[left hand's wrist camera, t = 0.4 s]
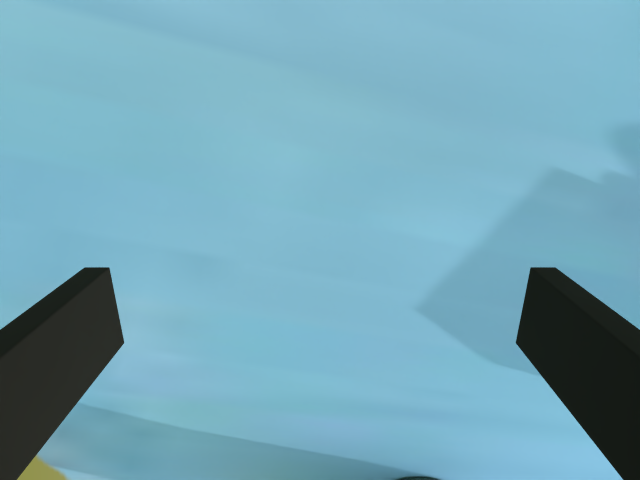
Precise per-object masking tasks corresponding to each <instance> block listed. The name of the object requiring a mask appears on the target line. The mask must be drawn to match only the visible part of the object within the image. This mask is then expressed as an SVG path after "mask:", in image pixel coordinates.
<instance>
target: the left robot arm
mask: <svg viewBox="0 0 640 480" xmlns="http://www.w3.org/2000/svg"><path fill="white" fill-rule="evenodd" d="M123 344H124V340H123V335H122V329H121V324H120V319H119V314H118V309H117V304H116V299H115V294H114V289H113V284H112V279H111V274H110V269H109V268H83V269H82V270H81V271H79V272H78V273H77V274H75V275H74V276H73V277H71V278H70V279H69V280H67V281H66V282H64V283H63V284H62V285H60V286H59V287H58V288H56V289H55V290H54V291H52V292H51V293H50V294H48V295H47V296H45V297H44V298H43V299H41V300H40V301H39V302H37V303H36V304H35V305H33V306H32V307H31V308H29V309H28V310H27V311H25V312H24V313H22V314H21V315H20V316H18V317H17V318H16V319H14V320H13V321H12V322H10V323H9V324H8V325H6V326H5V327H4V328H2V329H1V330H0V480H17V479H18V477H19V476H20V475H21V473H22V472H23V471H24V470H25V468H26V467H27V466H28V465H29V463H30V462H31V461H32V459H33V458H34V457H35V456H36V454H37V453H38V452H39V451H40V449H41V448H42V447H43V445H44V444H45V443H46V442H47V440H48V439H49V438H50V437H51V435H52V434H53V433H54V431H55V430H56V429H57V428H58V426H59V425H60V424H61V423H62V421H63V420H64V419H65V417H66V416H67V415H68V414H69V412H70V411H71V410H72V409H73V407H74V406H75V405H76V404H77V402H78V401H79V400H80V398H81V397H82V396H83V395H84V393H85V392H86V391H87V390H88V388H89V387H90V386H91V384H92V383H93V382H94V381H95V379H96V378H97V377H98V376H99V374H100V373H101V372H102V370H103V369H104V368H105V367H106V365H107V364H108V363H109V362H110V360H111V359H112V358H113V356H114V355H115V354H116V353H117V351H118V350H119V349H120V348H121V346H122V345H123ZM516 344H517V345H518V346H519V348H520V349H521V350H522V351H523V353H524V354H525V355H526V356H527V358H528V359H529V360H530V362H531V363H532V364H533V365H534V367H535V368H536V369H537V370H538V372H539V373H540V374H541V376H542V377H543V378H544V379H545V381H546V382H547V383H548V384H549V386H550V387H551V388H552V390H553V391H554V392H555V393H556V395H557V396H558V397H559V398H560V400H561V401H562V402H563V404H564V405H565V406H566V407H567V409H568V410H569V411H570V412H571V414H572V415H573V416H574V417H575V419H576V420H577V421H578V423H579V424H580V425H581V426H582V428H583V429H584V430H585V431H586V433H587V434H588V435H589V437H590V438H591V439H592V440H593V442H594V443H595V444H596V445H597V447H598V448H599V449H600V451H601V452H602V453H603V454H604V456H605V457H606V458H607V459H608V461H609V462H610V463H611V465H612V466H613V467H614V468H615V470H616V471H617V472H618V473H619V475H620V476H621V477H622V479H623V480H640V330H639V329H638V328H636V327H635V326H634V325H632V324H631V323H630V322H628V321H627V320H626V319H624V318H623V317H622V316H620V315H619V314H618V313H616V312H615V311H613V310H612V309H611V308H609V307H608V306H607V305H605V304H604V303H603V302H601V301H600V300H599V299H597V298H596V297H594V296H593V295H592V294H590V293H589V292H588V291H586V290H585V289H584V288H582V287H581V286H580V285H578V284H577V283H576V282H574V281H573V280H571V279H570V278H569V277H567V276H566V275H565V274H563V273H562V272H561V271H559V270H558V269H557V268H531V269H530V274H529V279H528V284H527V289H526V294H525V299H524V304H523V309H522V314H521V319H520V324H519V329H518V334H517V340H516ZM403 480H435V479H429V478H408V479H403Z"/></svg>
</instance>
